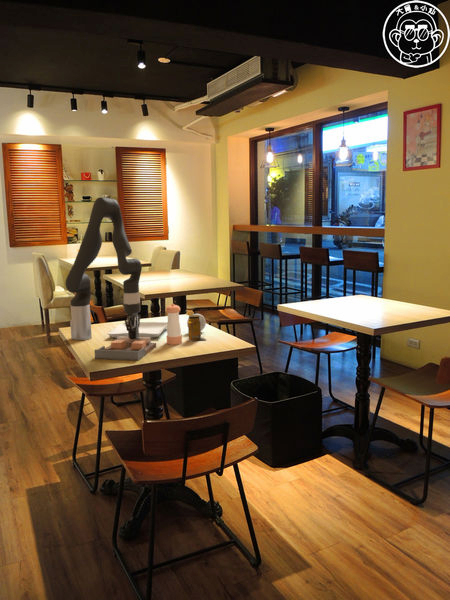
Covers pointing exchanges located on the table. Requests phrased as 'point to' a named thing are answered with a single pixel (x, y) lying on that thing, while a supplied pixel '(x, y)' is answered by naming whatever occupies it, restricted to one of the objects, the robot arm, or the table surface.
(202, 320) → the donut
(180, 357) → the table surface
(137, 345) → the tile right
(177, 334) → the pepper shaker
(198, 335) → the condiment
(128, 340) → the gray bar with block
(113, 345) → the tile left
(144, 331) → the square plate
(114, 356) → the box
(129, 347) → the board
